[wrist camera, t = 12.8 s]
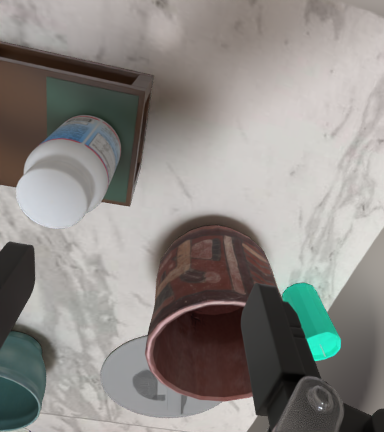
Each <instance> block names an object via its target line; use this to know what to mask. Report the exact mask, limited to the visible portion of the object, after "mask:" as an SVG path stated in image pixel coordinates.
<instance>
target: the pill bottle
mask: <svg viewBox="0 0 384 432" xmlns="http://www.w3.org/2000/svg"><path fill="white" fill-rule="evenodd" d="M120 155H121V144H120V140H119V137H118V135H117V134H116V132H115V130H114V129H113V128H112V127H111V126H110V125H109V124H108V123H106V122H105V121H103V120H102V119H100V118H97V117H94V116H90V115H79V116H75V117H72V118H70V119H69V120H67V121H66V122H64V123H63V124H62V125H61V126H60V127H59V128H58V129H56V130H55V131H54V132H53V133H52V134H51V135H50V136H49V137H48V138H46V139H45V140H44V141H43V142H42V143H41V144H40V145H39V146H37V147H36V148H35V149H34V150H33V151H32V152H31V154H30V155H29V156H28V158H27V160H26V162H25V166H24V175H23V176H22V177H21V179H20V180H19V182H18V184H17V187H16V198H17V202H18V204H19V206H20V208H21V210H22V211H23V212H24V214H25V215H26V216H27V217H29V218H30V219H31V220H33V221H34V222H36V223H38V224H39V225H42V226H45V227H48V228H54V229H62V228H68V227H71V226H73V225H75V224H77V223H78V222H79V221H80V220H81V219H82V218H83V217H84V216H85V214H86V213H88V212H90V211H91V210H93V209H94V208H96V207H97V206H98V205H99V204H100V202H101V201H102V200H103V198H104V196H105V194H106V192H107V189H108V187H109V184H110V182H111V179H112V177H113V175H114V172H115V170H116V167H117V165H118V162H119V159H120Z"/></svg>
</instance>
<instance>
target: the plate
mask: <svg viewBox="0 0 384 432" xmlns="http://www.w3.org/2000/svg"><path fill="white" fill-rule="evenodd" d="M147 337H148V335H147V336H143V337H140V338H137V339H134V340H131V341H129V342H127V343H125V344H123V345H122V346H120V347H118V348H117V349H116V350H114V351H113V352H112V353H111V354H110V355H109V356H108V358H107V359H106V360H105V362H104V364H103V367H102V370H101V383H102V386H103V389H104V390H105V392H106V393H107V395H108V396H109V397H110V398H111V399H112V400H113V401H114V402H116V403H117V404H119V405H120V406H122V407H124V408H126V409H128V410H130V411H132V412H135V413H138V414H142V415H146V416H151V417H159V418H178V417H186V416H191V415H195V414H199V413H202V412H204V411H207V410H209V409H211V408H213V407H215V406H217V405H218V404H220V403H222V402H223V401H209V400H198V399H195V398H192V397H188V396H185V395H182V394H179V393H176V392H175V391H173V390H171V389H170V388H168V387H167V386H165V385H163V384H162V383H160V382H159V380H158V379H157V378H156V377H155V376H154V375H153V373H152V372H151V371H150V369H149V366H148V363H147V360H146V356H145V348H146V342H147Z"/></svg>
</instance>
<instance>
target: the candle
mask: <svg viewBox="0 0 384 432" xmlns="http://www.w3.org/2000/svg"><path fill="white" fill-rule="evenodd" d="M282 299H283V301H285V302H288V303H289V304H290V305H291V307H292V308H293V309H294V310H295V312H296V313H297V315H298V317H299V320H300V323H301V325H302V327H301V328H302V329H303V331H304V334H305V339H307V342H308V344H309V347H310V350H311V353H312V355H313V358H314V361H318V360H323V359H326V358H329V357H332V356H334V355H335V354H336V353H337V352H338V351H339V350H340V346H341V339H340V337H339V335H338V333H337V331H336V329H335V327H334V326H333V323H332V321H331V319H330V317H329V315H328V314H327V312H326V310H325V308H324V306H323V304H322V302H321V300H320V298H319V296H318V294H317V292H316V290H315V289H314V287H313V286H312V285H309V284H306V283H299V284H294V285H292V286H290V287H288V288H287V289H286V290H285V292H284V293H283V294H282Z"/></svg>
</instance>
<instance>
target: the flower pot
mask: <svg viewBox="0 0 384 432" xmlns="http://www.w3.org/2000/svg"><path fill="white" fill-rule="evenodd" d="M41 355H42V349H41V346H40V344H39V343H38V342H37V341H36V340H35V339H34V338H32V337H31V336H29V335H27V334H24V333H21V332H15V331H10V333H9V335H8V337H7V338H6V340H5V342H4V344H3V346H2V347H1V349H0V432H3V431H13V430H18V429H21V428H24V427H26V426H28V425H30V424H32V423H33V422H34V421H35V420H36V419H37V418H38V416H39V414H40V410H41V406H42V400H43V397H44V393H45V387H46V370H45V365H44V361H43V358H42V356H41Z"/></svg>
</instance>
